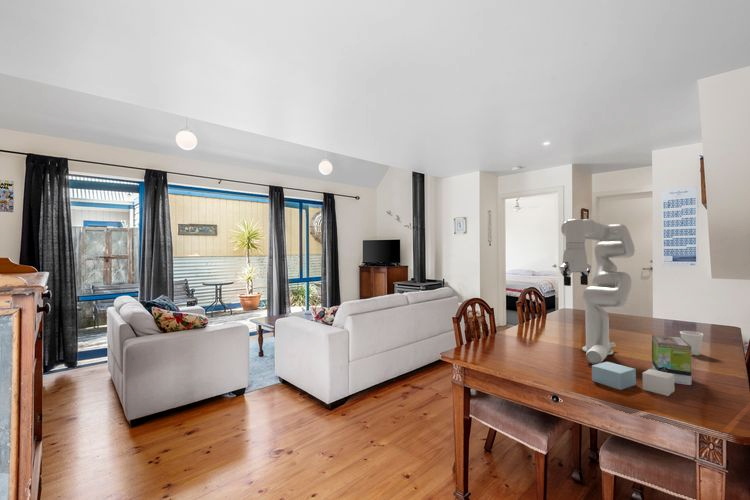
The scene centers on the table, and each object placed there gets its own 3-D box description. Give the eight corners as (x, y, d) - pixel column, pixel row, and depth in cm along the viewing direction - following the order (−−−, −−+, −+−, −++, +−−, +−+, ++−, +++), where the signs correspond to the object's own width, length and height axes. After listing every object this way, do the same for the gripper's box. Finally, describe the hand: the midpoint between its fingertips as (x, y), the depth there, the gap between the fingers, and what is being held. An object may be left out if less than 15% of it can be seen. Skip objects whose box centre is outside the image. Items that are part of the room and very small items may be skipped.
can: (598, 341, 158) (592, 346, 149) (611, 352, 154) (606, 359, 146) (587, 350, 161) (581, 356, 152) (600, 361, 157) (594, 368, 148)
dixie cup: (694, 351, 167) (693, 330, 167) (709, 356, 158) (708, 335, 158) (675, 351, 168) (675, 330, 168) (689, 356, 159) (689, 334, 159)
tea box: (693, 386, 124) (692, 345, 125) (657, 381, 130) (656, 341, 130) (683, 373, 137) (682, 336, 137) (651, 369, 142) (650, 333, 143)
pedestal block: (607, 376, 135) (607, 361, 135) (635, 385, 126) (635, 368, 126) (592, 381, 131) (591, 365, 131) (620, 390, 122) (620, 373, 122)
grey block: (650, 385, 126) (649, 368, 126) (674, 391, 120) (674, 374, 120) (642, 389, 122) (642, 372, 122) (667, 396, 116) (667, 378, 116)
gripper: (582, 247, 159) (583, 283, 159) (553, 247, 154) (553, 285, 154) (597, 246, 152) (598, 285, 152) (567, 246, 147) (568, 286, 147)
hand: (575, 285), depth 153 cm, fingers open, 9 cm apart
